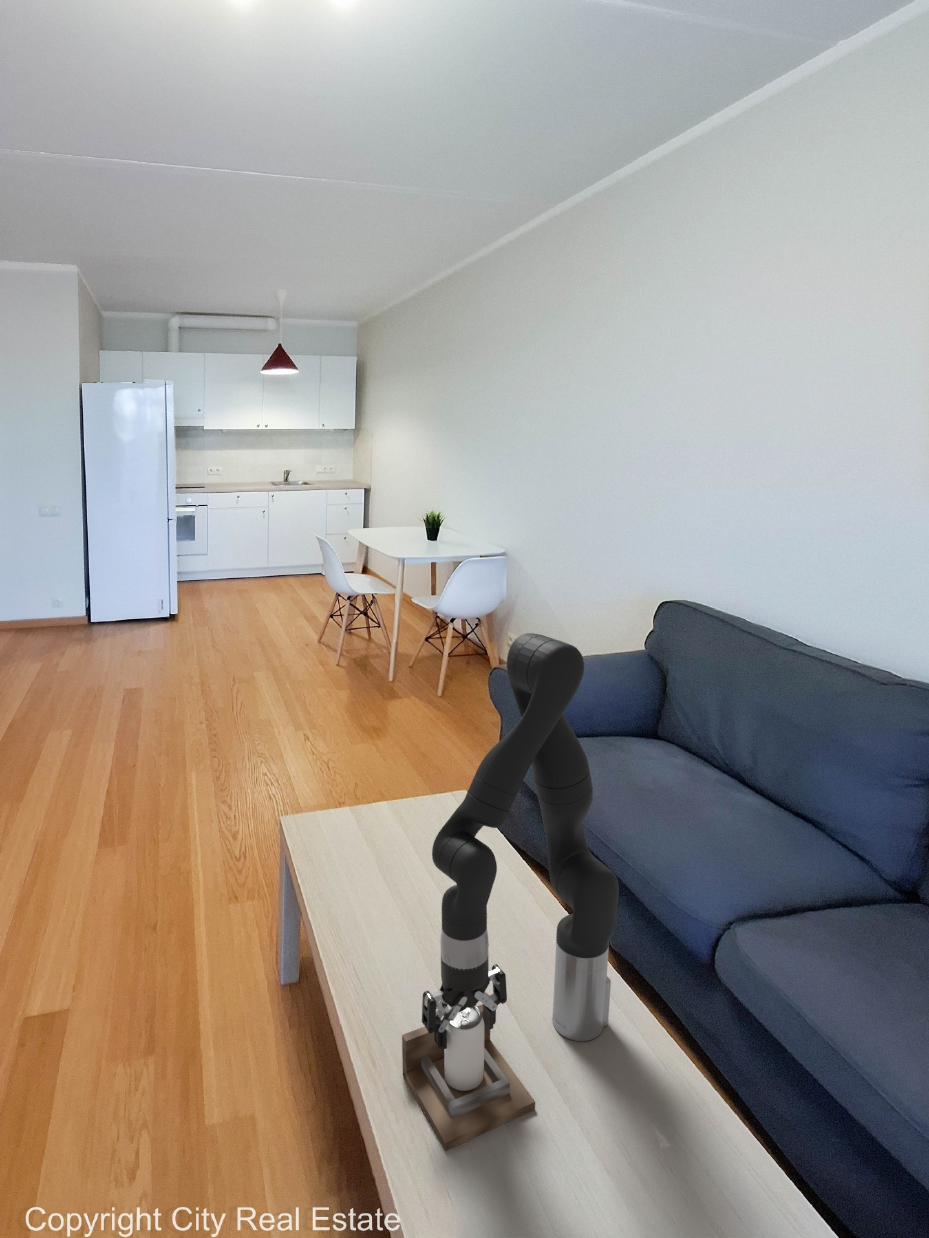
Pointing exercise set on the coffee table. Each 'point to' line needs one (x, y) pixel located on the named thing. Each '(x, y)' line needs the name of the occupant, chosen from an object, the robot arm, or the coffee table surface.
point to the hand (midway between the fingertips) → (465, 1035)
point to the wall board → (462, 1110)
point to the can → (465, 1050)
